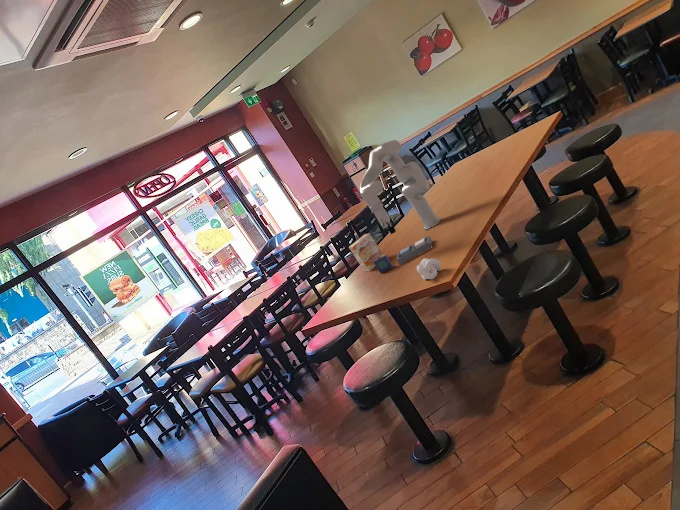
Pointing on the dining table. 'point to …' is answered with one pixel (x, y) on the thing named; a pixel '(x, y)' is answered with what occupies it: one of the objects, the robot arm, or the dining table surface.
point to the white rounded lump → (428, 268)
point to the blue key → (405, 251)
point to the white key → (420, 243)
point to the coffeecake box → (366, 251)
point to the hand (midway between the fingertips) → (393, 232)
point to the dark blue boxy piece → (383, 263)
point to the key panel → (414, 251)
